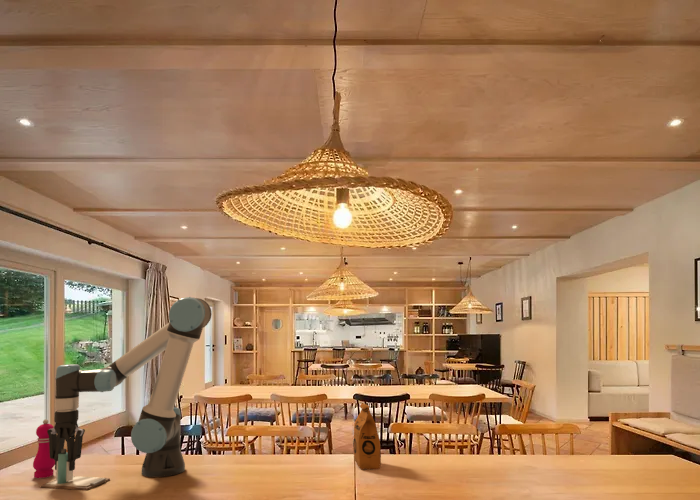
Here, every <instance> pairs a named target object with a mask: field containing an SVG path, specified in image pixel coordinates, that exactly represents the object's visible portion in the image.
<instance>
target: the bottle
mask: <svg viewBox="0 0 700 500" xmlns="http://www.w3.org/2000/svg"><path fill="white" fill-rule="evenodd" d="M67 460H68V451H67V448H64V449H61V453H59V454H58V477H57V483H58V484H63V483H67V482H66V466H67Z"/></svg>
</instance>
